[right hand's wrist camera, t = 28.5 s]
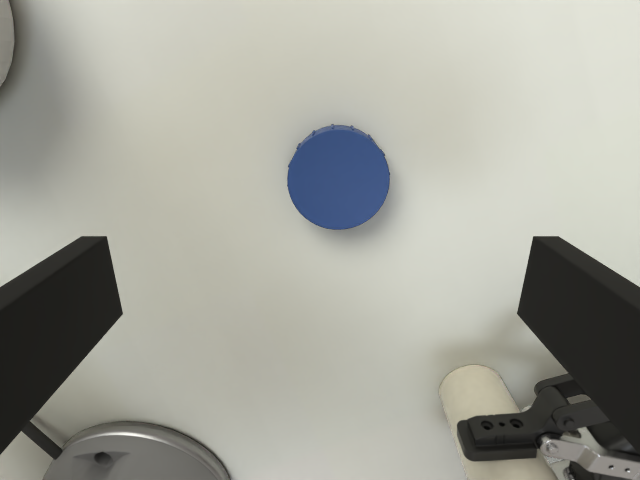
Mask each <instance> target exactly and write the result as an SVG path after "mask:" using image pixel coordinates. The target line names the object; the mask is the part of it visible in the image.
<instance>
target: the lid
mask: <svg viewBox="0 0 640 480" xmlns="http://www.w3.org/2000/svg"><path fill="white" fill-rule="evenodd" d="M296 149H297V151H296V152H295V154H294V156H293V158H292V160H291V161H290V163H289V165H288V167H289V170H288V185H287V186H288V190H289V194H290V197H291V199H292V201H293V203H294V205H295V207H296V208H297V210H298V211H299V212H300V213H301V214H302V215H303V216H304V217H305V218H306V219H308V220H309V221H310V222H312V223H314V224H316V225H318V226H321V227H324V228H327V229H338V230H341V229H348V228H352V227H355V226H358V225H360V224H362V223H364V222H366V221H367V220H369V219H370V218H371V217H372V216H373V215H375V214H376V212H377V211H378V210H379V209H380V207H381V206H382V204H383V203H384V201H385V199H386V196H387V193H388V189H389V180H390V178H389V175H390V173H389V169H388V165H387V162H386V159H385V157H384V156H385V154H384V153H383V151H382V150H381V149H379V148H378V146H377V145H376V143H375V142H374V141H373V140H372V138H371V136H370V135H366V134H365V133H363V132H362V131H360V130H358V129H356V128H354V127H353V126H351V127H349V126H343V125H334V126H333V124H331V126H328V127H324V128H321V129H319V130H317V131H315V130H314V131H313V132H312V134H310V135H309V136H308V137H307V138H306V139H305V140H304V141H303V142H302V143H301V144H300V143H299V145H298V146H297V148H296Z"/></svg>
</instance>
